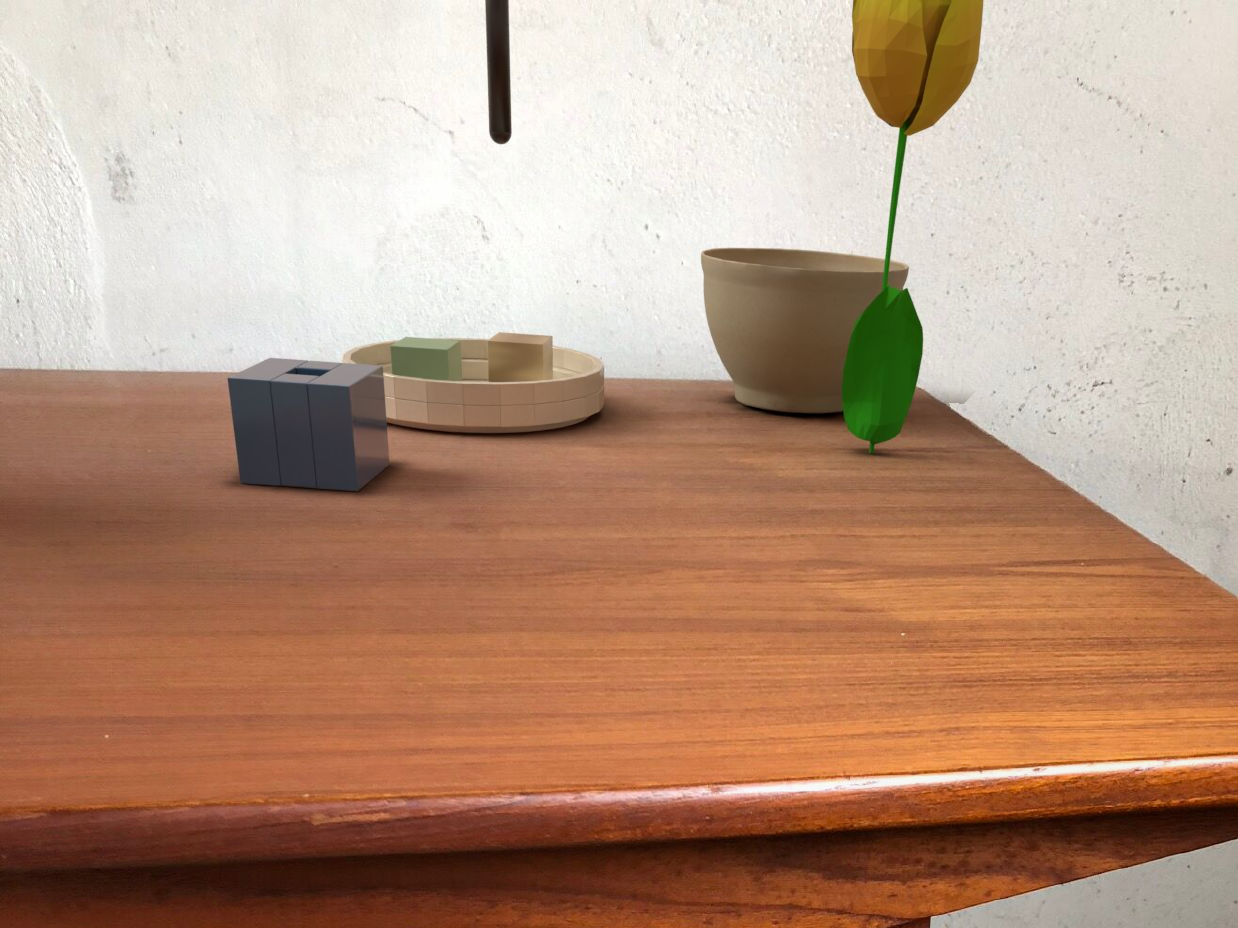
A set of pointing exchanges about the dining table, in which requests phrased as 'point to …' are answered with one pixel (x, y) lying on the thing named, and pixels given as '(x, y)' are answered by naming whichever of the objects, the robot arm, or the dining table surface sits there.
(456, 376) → the sage block
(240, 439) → the stick holder
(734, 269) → the planter bowl
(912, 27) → the flower
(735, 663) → the dining table surface
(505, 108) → the stirring stick
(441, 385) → the cream bowl
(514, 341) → the birch block
